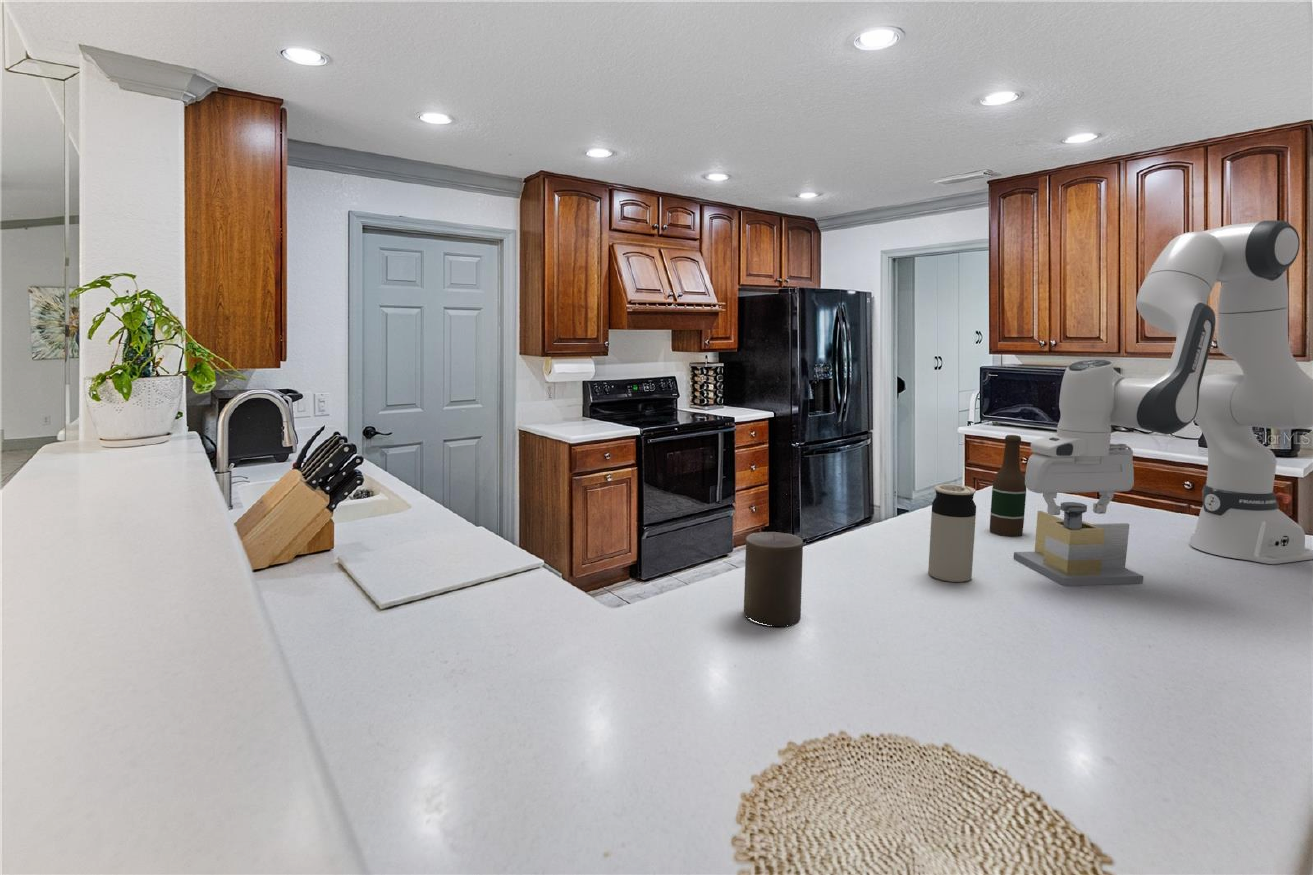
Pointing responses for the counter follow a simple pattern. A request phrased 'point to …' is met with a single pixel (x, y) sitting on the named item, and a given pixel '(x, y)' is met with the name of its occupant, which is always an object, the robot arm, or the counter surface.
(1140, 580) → the mounting board
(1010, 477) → the beer bottle
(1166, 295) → the robot arm
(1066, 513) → the hinge pin
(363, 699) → the counter surface
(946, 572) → the travel mug
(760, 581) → the pillar candle
